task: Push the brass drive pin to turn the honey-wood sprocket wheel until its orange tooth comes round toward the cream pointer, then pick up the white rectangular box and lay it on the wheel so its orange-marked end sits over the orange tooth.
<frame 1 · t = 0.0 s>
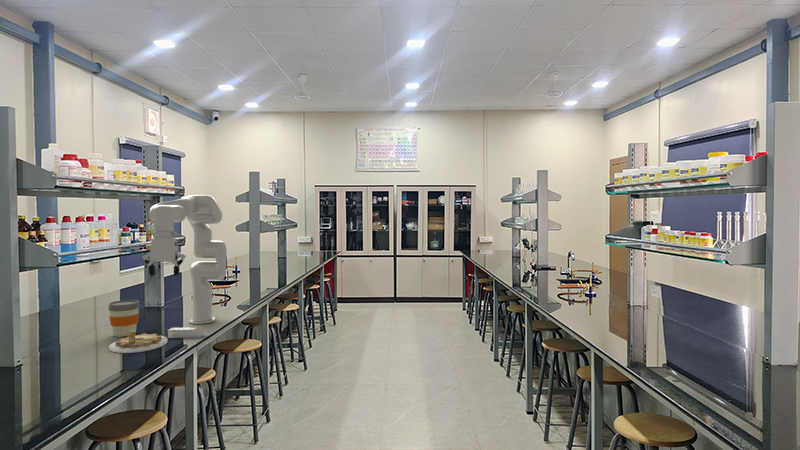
hand: (164, 275, 191), 31 cm above the table, tool pointing down, fingers open, 9 cm apart
white rectangular box: (185, 337, 209), on the table
reusable coffee cup: (124, 334, 212), on the table
sprocket wheel: (139, 334, 195), point 4 cm above the table, hinge at 0.0°
base plate: (139, 345, 196), on the table
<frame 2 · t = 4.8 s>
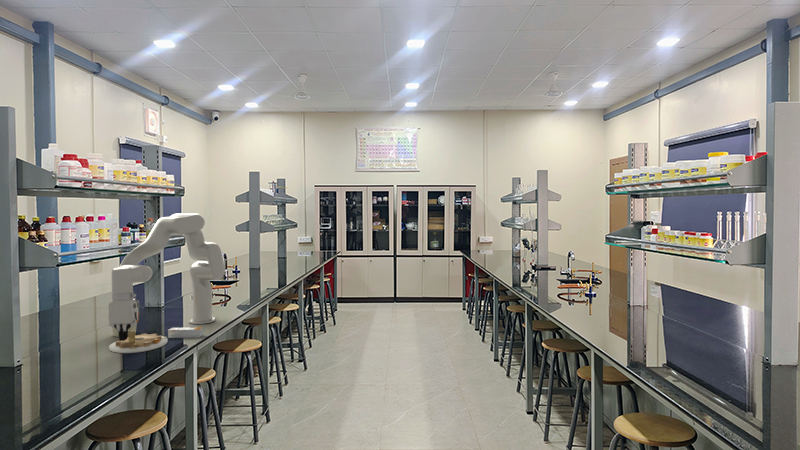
hand: (123, 339, 189), 4 cm above the table, tool pointing down, fingers closed
sprocket wheel: (139, 334, 195), point 4 cm above the table, hinge at 0.0°, touching gripper
everything else where it was.
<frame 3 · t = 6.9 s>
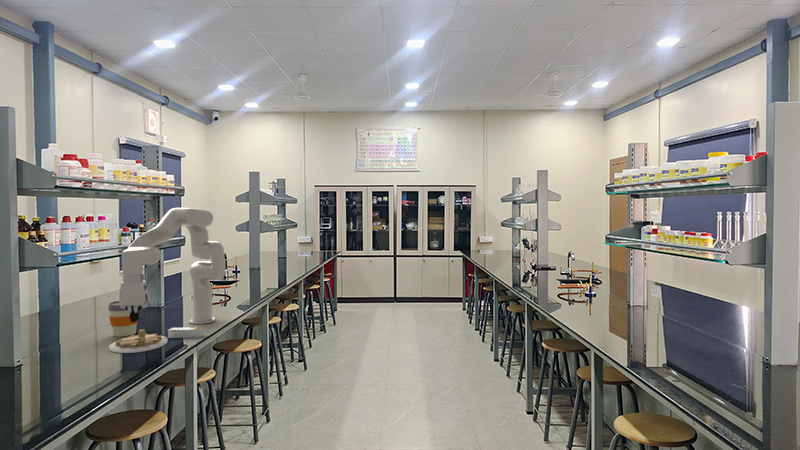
hand: (134, 321, 190), 12 cm above the table, tool pointing down, fingers closed
sprocket wheel: (139, 334, 195), point 4 cm above the table, hinge at 35.5°
everything else where it was.
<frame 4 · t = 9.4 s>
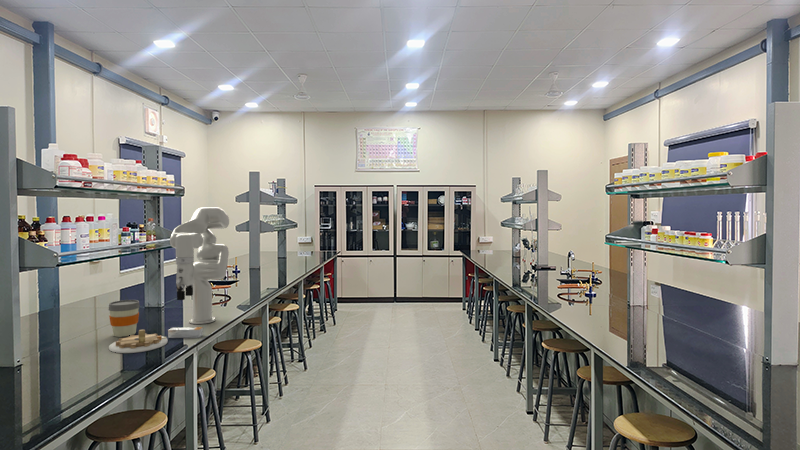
hand: (185, 297, 208), 18 cm above the table, tool pointing down, fingers open, 9 cm apart
nothing on the table moved.
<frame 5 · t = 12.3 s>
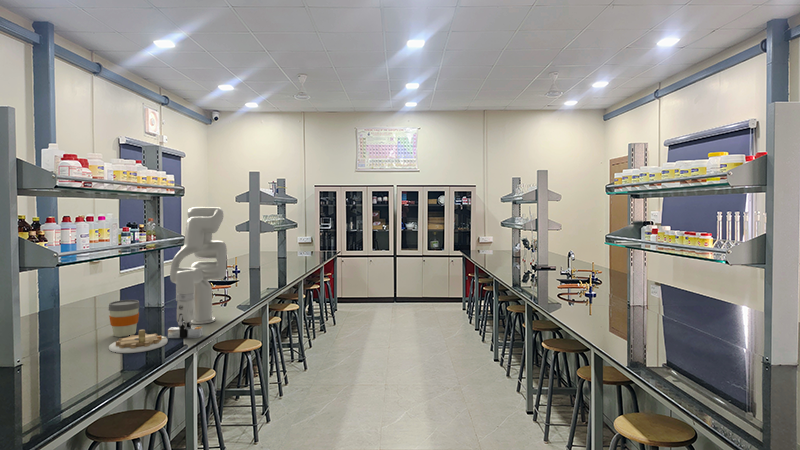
hand: (185, 335, 209), 0 cm above the table, tool pointing down, fingers closed on white rectangular box, 4 cm apart
white rectangular box: (185, 336, 209), on the table, touching gripper
everything else where it was.
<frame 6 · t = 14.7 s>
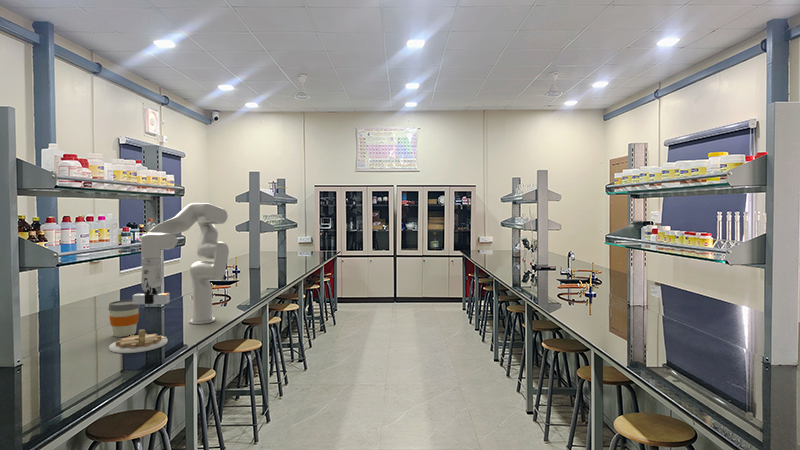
hand: (151, 302, 200), 18 cm above the table, tool pointing down, fingers closed on white rectangular box, 4 cm apart
white rectangular box: (151, 303, 200), point 17 cm above the table, touching gripper
everything else where it was.
when the fingers open (4 cm above the table, at t = 17.6 s): white rectangular box drops 1 cm, resting on sprocket wheel.
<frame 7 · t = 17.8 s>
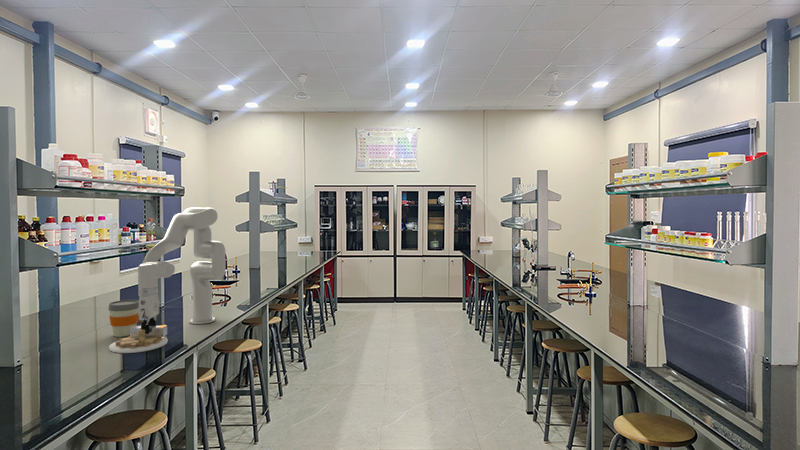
hand: (148, 331, 200), 5 cm above the table, tool pointing down, fingers open, 5 cm apart
white rectangular box: (148, 335, 200), point 3 cm above the table, touching sprocket wheel
sprocket wheel: (139, 334, 195), point 4 cm above the table, hinge at 35.5°, touching white rectangular box
everything else where it was.
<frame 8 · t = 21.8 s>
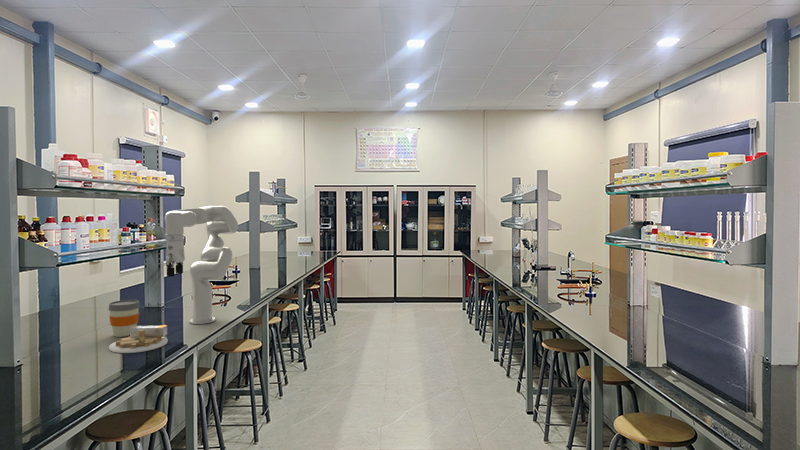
hand: (175, 274, 211), 28 cm above the table, tool pointing down, fingers open, 9 cm apart
nothing on the table moved.
at the end: sprocket wheel at +36° (first picture: +0°); white rectangular box inside the target area (0.1 cm from its centre), point 2.7 cm above the table; white rectangular box touching sprocket wheel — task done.
